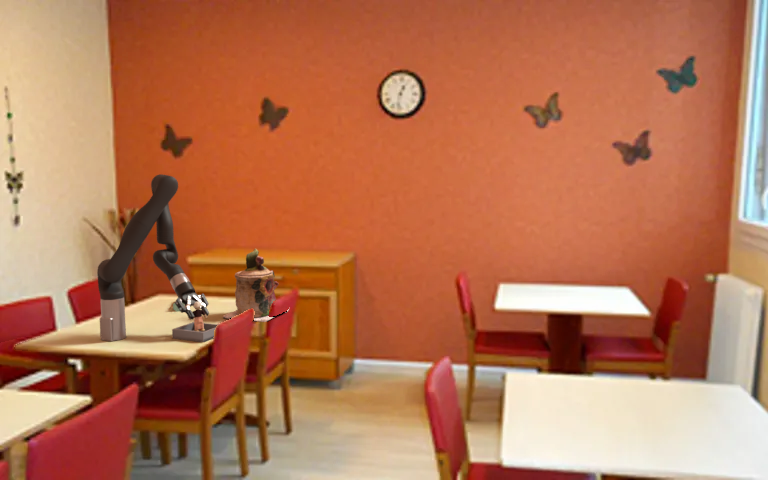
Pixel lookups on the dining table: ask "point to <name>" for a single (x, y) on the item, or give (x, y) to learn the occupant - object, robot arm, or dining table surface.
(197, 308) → the grandmother figurine
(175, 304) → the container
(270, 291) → the cookie jar
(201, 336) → the tray
